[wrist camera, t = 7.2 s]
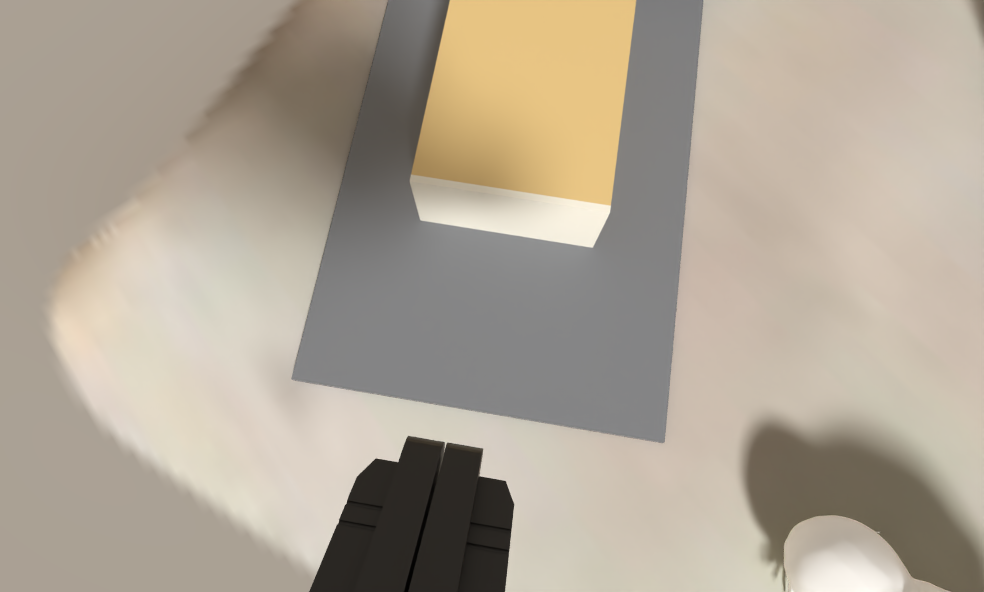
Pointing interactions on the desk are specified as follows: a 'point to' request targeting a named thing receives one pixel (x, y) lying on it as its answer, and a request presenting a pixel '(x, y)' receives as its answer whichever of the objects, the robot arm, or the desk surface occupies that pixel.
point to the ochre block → (525, 117)
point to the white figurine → (844, 559)
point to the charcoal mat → (509, 257)
